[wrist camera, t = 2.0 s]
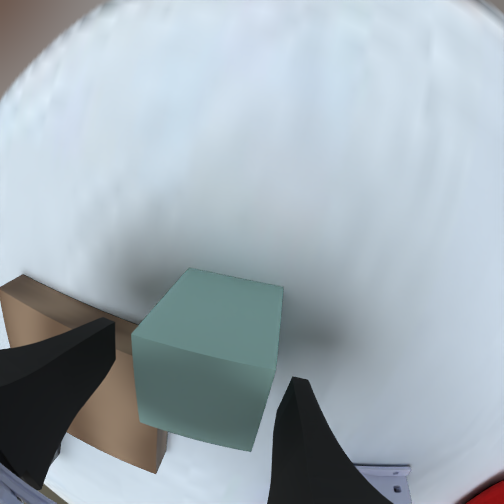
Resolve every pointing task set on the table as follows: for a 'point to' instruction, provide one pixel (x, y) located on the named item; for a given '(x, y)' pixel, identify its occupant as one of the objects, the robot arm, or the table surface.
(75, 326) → the walnut slab
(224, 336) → the teal block
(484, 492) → the tomato
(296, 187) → the table surface
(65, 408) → the robot arm
